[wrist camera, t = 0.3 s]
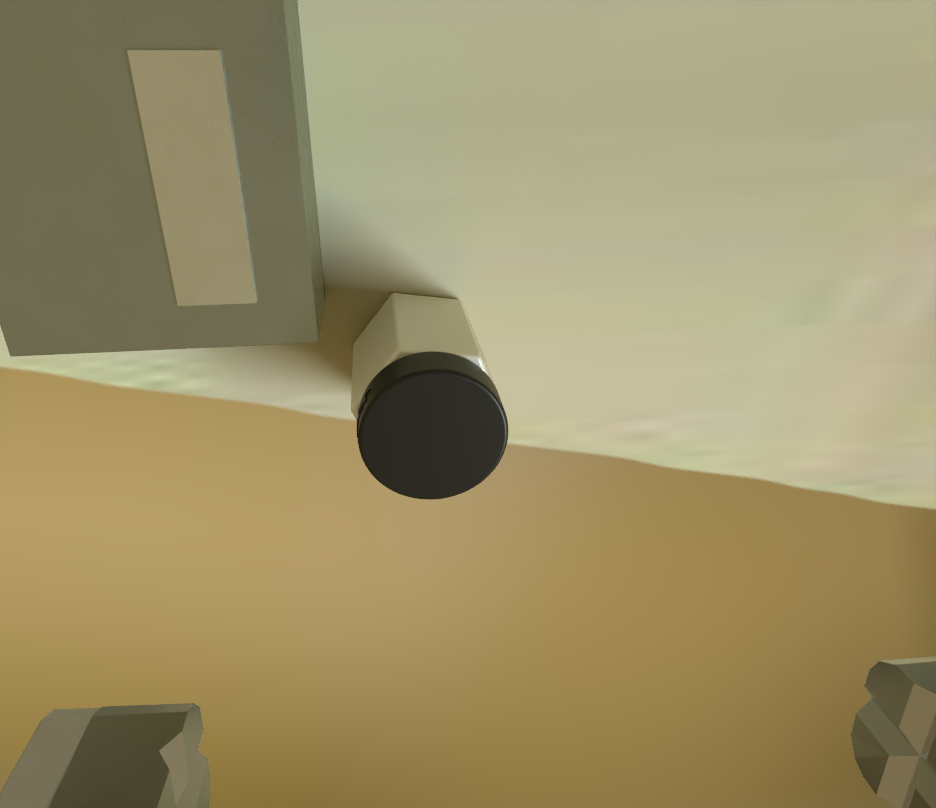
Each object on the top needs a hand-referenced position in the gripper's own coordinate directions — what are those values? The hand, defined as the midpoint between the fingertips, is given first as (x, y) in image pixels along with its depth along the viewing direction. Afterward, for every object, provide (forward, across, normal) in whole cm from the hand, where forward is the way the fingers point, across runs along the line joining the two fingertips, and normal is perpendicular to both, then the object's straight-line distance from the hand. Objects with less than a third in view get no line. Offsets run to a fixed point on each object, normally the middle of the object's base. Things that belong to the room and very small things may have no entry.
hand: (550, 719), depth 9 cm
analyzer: (+38, +14, -4) cm, 41 cm away
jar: (+40, 0, +8) cm, 41 cm away
